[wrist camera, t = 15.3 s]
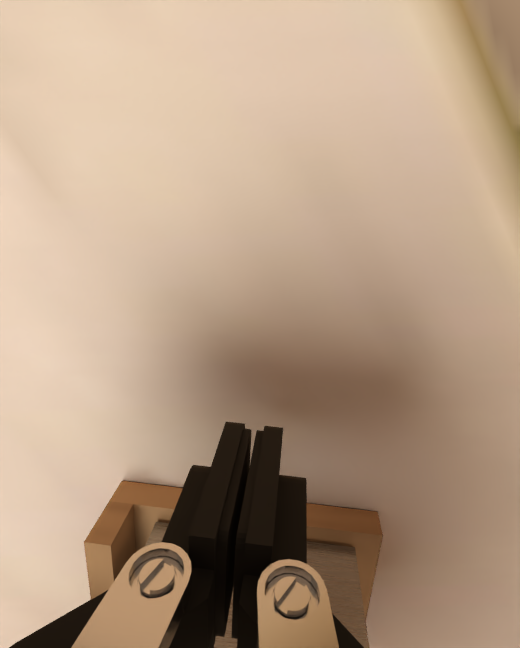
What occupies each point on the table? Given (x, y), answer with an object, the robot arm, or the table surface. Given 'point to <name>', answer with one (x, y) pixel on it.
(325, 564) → the bookend
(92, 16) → the table surface
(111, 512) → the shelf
